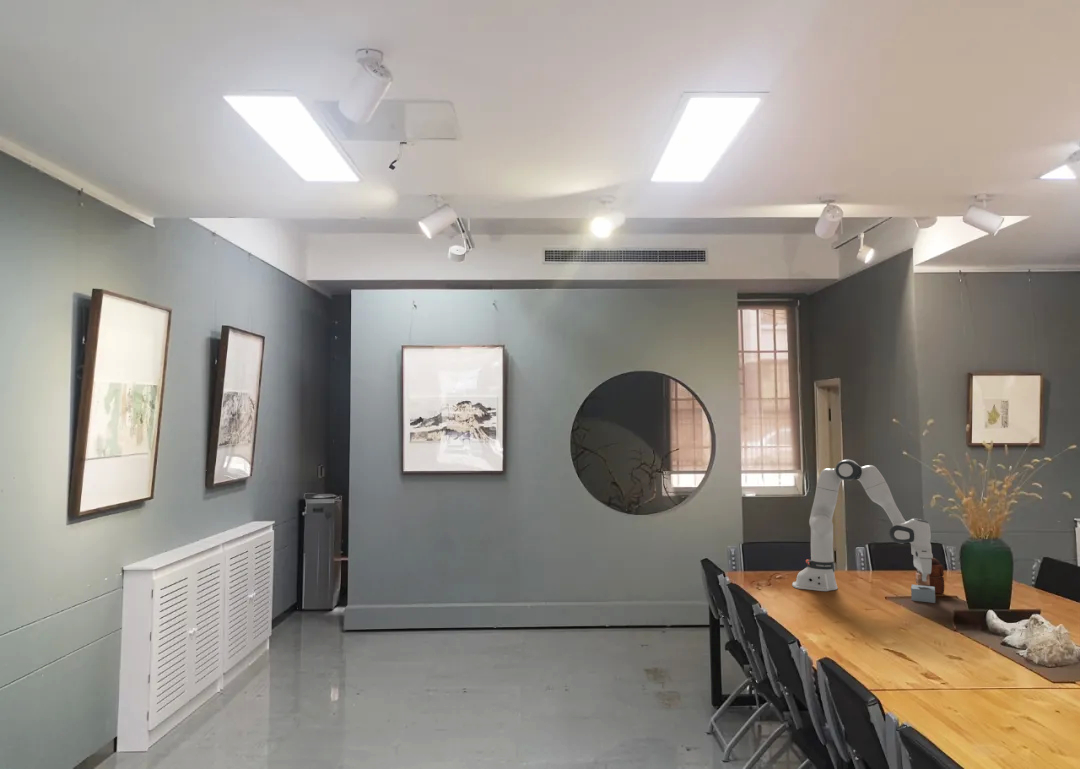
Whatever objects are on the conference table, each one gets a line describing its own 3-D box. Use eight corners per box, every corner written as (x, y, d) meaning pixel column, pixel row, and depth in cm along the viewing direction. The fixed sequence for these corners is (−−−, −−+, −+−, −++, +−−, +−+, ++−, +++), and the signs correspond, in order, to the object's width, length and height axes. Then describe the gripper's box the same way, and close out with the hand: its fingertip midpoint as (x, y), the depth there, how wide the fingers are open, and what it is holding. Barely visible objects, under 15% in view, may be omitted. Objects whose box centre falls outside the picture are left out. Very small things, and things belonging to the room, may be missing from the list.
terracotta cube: (918, 584, 326) (917, 574, 326) (915, 582, 330) (915, 572, 331) (929, 585, 324) (929, 575, 325) (927, 583, 329) (926, 573, 329)
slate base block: (911, 600, 325) (911, 588, 326) (912, 596, 334) (911, 584, 334) (935, 603, 320) (934, 590, 320) (935, 598, 328) (934, 586, 329)
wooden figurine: (941, 591, 342) (940, 556, 343) (945, 594, 336) (943, 558, 337) (916, 590, 346) (914, 555, 347) (919, 593, 340) (917, 557, 341)
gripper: (909, 547, 339) (910, 574, 338) (919, 554, 320) (920, 583, 319) (923, 548, 337) (924, 575, 336) (933, 555, 318) (934, 584, 317)
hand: (922, 579), depth 327 cm, fingers closed on terracotta cube, 5 cm apart
